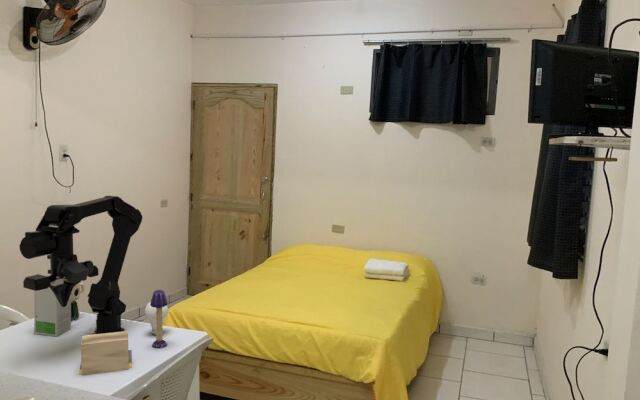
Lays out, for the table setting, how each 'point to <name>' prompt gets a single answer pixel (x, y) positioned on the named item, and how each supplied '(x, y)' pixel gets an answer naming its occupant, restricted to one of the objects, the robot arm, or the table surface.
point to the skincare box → (50, 314)
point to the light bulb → (154, 316)
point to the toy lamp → (159, 316)
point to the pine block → (104, 352)
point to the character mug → (75, 296)
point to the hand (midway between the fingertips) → (63, 306)
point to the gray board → (129, 362)
